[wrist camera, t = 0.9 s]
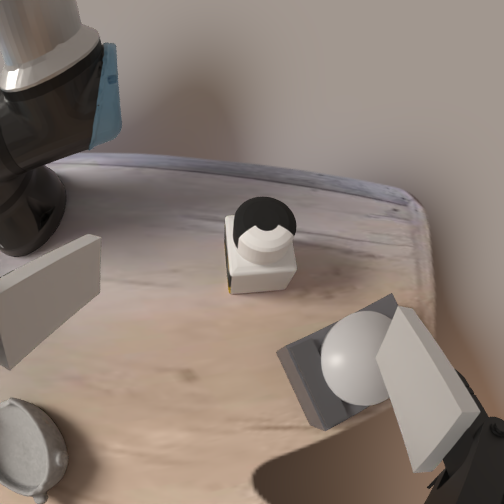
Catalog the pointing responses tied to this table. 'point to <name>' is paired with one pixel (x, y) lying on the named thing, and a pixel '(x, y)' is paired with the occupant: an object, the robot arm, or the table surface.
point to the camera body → (340, 365)
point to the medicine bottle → (260, 246)
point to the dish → (30, 450)
